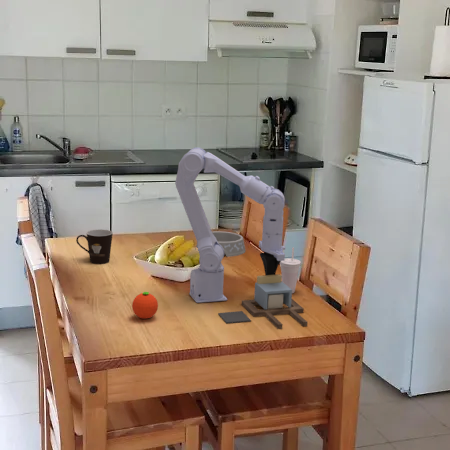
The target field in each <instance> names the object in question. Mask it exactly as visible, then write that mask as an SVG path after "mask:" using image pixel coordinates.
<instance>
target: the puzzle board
mask: <svg viewBox="0 0 450 450" xmlns="http://www.w3.org/2000/svg"><path fill="white" fill-rule="evenodd" d="M283 305H285V304H284V303H283ZM241 306H242V307H243V308H244V309H245V310H246V311H247V312H248V313H249V314H250V315H251V316H252V317H253V318H257V317H265V318H266V319H267V320H268V321H270V322H271V324H272V325H274V327H276V328H277V330H281V329H283V323H282V322H281V321H280V320H278V318H276V317H275V316H279V315H290V316H291V318H293V319H294V320H295V321H296V322H297V323H299V324H300V325H301V326H302V327H303V328H304V327H308V321H307V320H306V319H304V317H303V316H301V315H300V314H302V313H303V314H304V311H305V309H304V307H302V305H300V304H299V303H298V302H297V301H295V300H294V299H293V298H292V299H291V307H288V306H286V307H283V308H273V309H258V308H257V306H259V307H261V306H260V305H259V304H258V303H257V302H256V301H255V300H254V299H244V300H241Z"/></svg>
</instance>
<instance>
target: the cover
mask: <svg viewBox="0 0 450 450" xmlns="http://www.w3.org/2000/svg"><path fill="white" fill-rule="evenodd" d="M275 293H283V294H284V295H283V303H284V304H283V305H285V306H286V307H291V299H293V298H292V297H293V293H292V289H290V288H289V287H288V286H287V285H286V284H284V283H283V282H282V275H281V273H280V274H275V275H265V274H264V275H257V276H256V282H255V284H254V296H253V298H254V299H253V300H255V301H256V302H257V303H258V304H259V305H260V306H259V307H262V308H263V309H267V299H268V294H275Z"/></svg>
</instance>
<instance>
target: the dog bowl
mask: <svg viewBox="0 0 450 450" xmlns="http://www.w3.org/2000/svg"><path fill="white" fill-rule="evenodd" d="M212 233H213V235H214V236H215V237H216V239H217V242H218V243H219V244H220V245H221V246H222V247H223V249H224V255H225V256H226V257H230V258H231V257H237V256H241V255H243V254H245V253H246V247H245V239H244V237H243V236H242V234H239V233H235V232H229V231H218V230H217V231H214V230H213V231H212ZM196 247H197V248H198V245H197V244H196V246H195V248H196Z"/></svg>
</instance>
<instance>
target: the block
mask: <svg viewBox="0 0 450 450" xmlns="http://www.w3.org/2000/svg"><path fill="white" fill-rule="evenodd" d="M283 295H284V294H283V293H275V294H268V299H267V309H273V308H284V304H283Z"/></svg>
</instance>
